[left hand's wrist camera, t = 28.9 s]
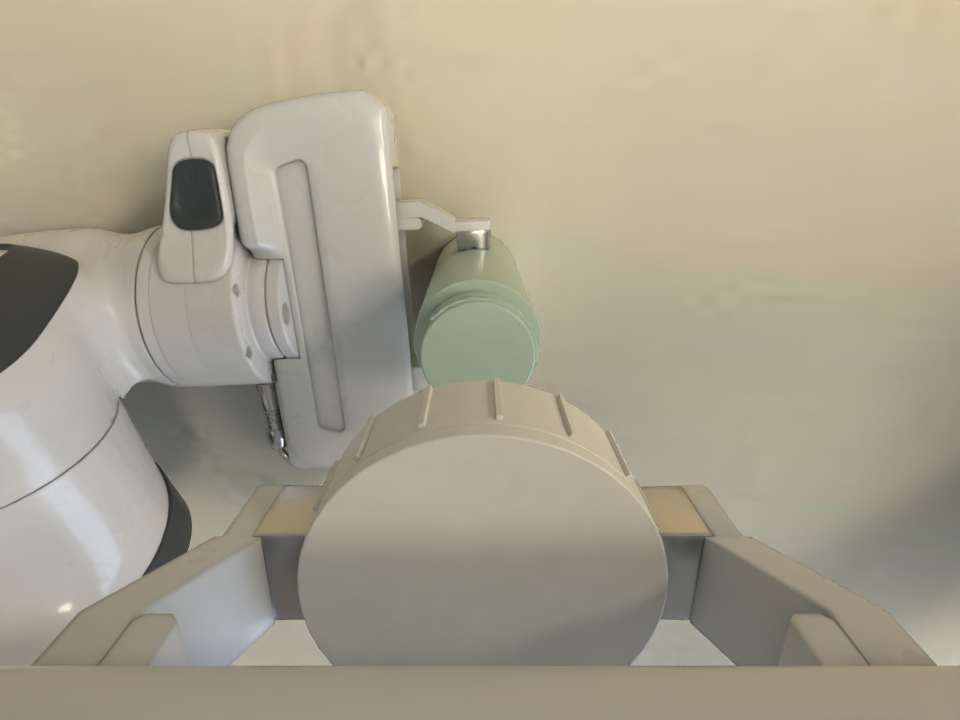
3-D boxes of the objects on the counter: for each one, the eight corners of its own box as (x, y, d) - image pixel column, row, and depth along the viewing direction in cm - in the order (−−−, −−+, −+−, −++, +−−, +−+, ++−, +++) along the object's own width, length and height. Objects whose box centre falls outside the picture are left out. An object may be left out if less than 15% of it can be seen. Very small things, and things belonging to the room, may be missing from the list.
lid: (633, 360, 9) (674, 412, 7) (637, 619, 11) (668, 710, 10) (294, 396, 9) (249, 456, 8) (360, 645, 12) (339, 739, 10)
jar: (532, 276, 34) (575, 362, 20) (472, 327, 35) (472, 443, 21) (479, 215, 33) (483, 259, 18) (419, 270, 34) (379, 353, 20)
